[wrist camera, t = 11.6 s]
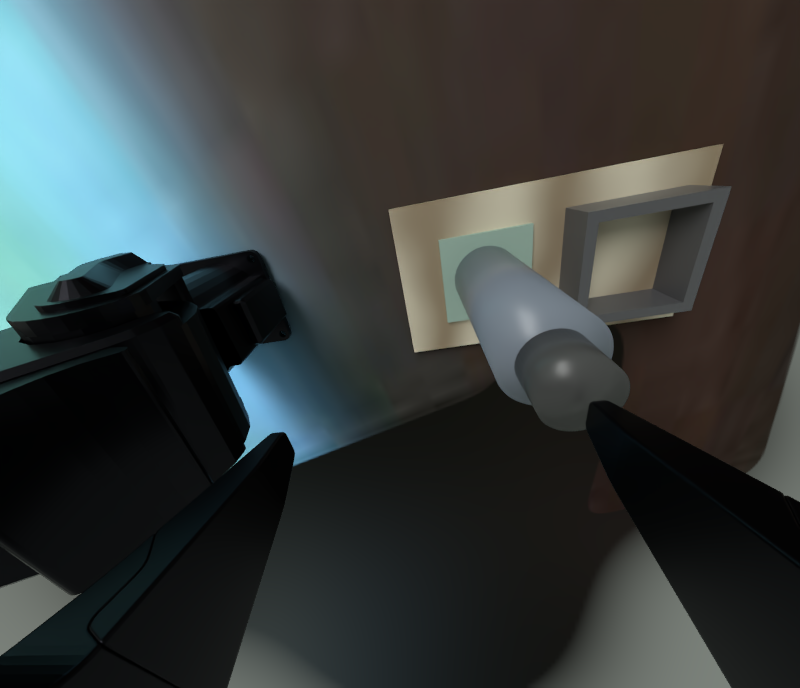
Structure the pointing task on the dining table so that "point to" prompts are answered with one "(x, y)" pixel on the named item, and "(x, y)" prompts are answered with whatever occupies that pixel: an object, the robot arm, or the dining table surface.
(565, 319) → the capped bottle
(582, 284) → the gray square frame
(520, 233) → the pad
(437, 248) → the board
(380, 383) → the dining table surface
